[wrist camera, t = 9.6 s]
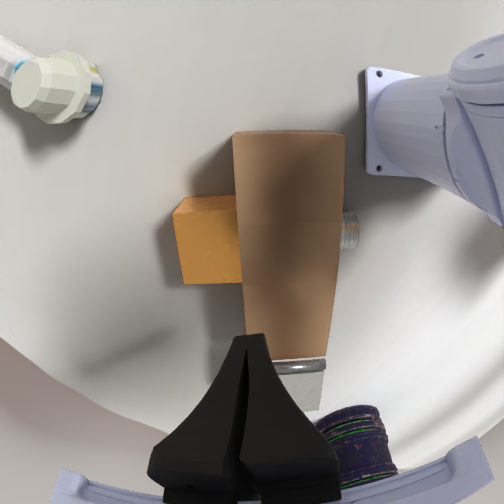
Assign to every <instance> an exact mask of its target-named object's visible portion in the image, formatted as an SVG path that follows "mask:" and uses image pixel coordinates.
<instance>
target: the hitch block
mask: <svg viewBox="0 0 504 504" xmlns="http://www.w3.org/2000/svg"><path fill="white" fill-rule="evenodd" d="M232 144H233V160H234V176H235V191H236V206H237V220H238V234H239V248H240V262H241V275H242V288H243V301H244V313H245V326H246V335H250V334H257V333H263V334H265V337H266V341H267V346H268V350H269V354H270V358H271V360H282V359H297V358H309V357H320V356H326V350H327V344H328V338H329V332H330V325H331V319H332V312H333V305H334V297H335V289H336V281H337V272H338V263H339V253H340V242H341V230H342V216H343V200H344V178H345V135H343V134H338V133H333V132H329V131H316V130H275V131H247V132H236V133H235V134H234V135H233V136H232Z"/></svg>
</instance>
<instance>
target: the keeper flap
mask: <svg viewBox="0 0 504 504" xmlns="http://www.w3.org/2000/svg"><path fill="white" fill-rule="evenodd" d="M272 363H273V366H274V368H275V370H276V372H277V374H278V376H279V378H280V379H281V381H282V383H283V385H284V386H285V388H286V390H287V391H288V393H289V394H290V396H291V397H292V399H293V400H294V401H295V403H296V404H297V405H298V407H299V408H300V409H301V411H302V412H304V411H313V410H319V404H320V397H321V390H322V382H323V374H324V371H323V370H325V369H326V360H325V358H324V359H313V360H301V361H288V362H272Z"/></svg>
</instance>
